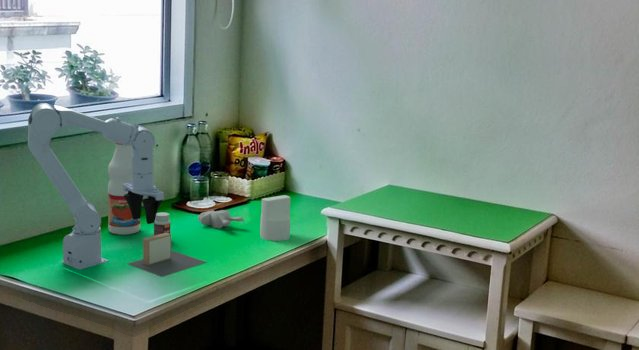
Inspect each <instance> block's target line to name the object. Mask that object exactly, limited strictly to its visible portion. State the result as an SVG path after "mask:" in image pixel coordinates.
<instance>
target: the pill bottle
mask: <svg viewBox="0 0 639 350" xmlns="http://www.w3.org/2000/svg"><path fill="white" fill-rule="evenodd" d="M163 233H169V234H171V220H170V213H168V212H157V214H156V218H155V222H154V223H153V236H155V235H159V234H163Z"/></svg>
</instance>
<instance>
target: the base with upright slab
mask: <svg viewBox="0 0 639 350" xmlns="http://www.w3.org/2000/svg"><path fill="white" fill-rule="evenodd" d="M259 229H260V230H259V233H260V234H259V235H260V238H261V239H263V240H266V241H272V242H274V241H275V242H279V241H285V240H288V239H290V238H291V237H290V236H291V197H290V196H289V195H286V194H283V195H282V194H281V195H278V196H271V197H264V198H261V216H260V228H259Z"/></svg>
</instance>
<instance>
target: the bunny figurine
mask: <svg viewBox="0 0 639 350" xmlns="http://www.w3.org/2000/svg"><path fill="white" fill-rule="evenodd" d="M197 217H198V221H200V224H201V225H204V226H211V227H212V228H214V229H219V230H221V229H222V228H223V227H225V228H228V226H230V225H231V223H232V222H244V221H245V220H244V218H243V216H231V213H230V211H229V210H226V209H221V210H216V211H215V210H213V209H212V210H208V211H204V212H201V213H200V214H198V215H197Z"/></svg>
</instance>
